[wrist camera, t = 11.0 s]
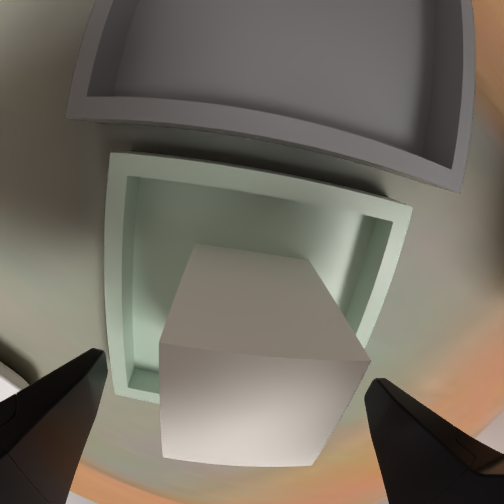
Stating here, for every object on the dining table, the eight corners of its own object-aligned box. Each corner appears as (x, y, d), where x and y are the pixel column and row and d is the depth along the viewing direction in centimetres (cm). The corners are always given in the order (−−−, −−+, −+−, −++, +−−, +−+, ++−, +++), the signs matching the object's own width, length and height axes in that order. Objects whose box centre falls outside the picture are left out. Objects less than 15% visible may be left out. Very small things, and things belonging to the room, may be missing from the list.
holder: (389, 197, 13) (413, 207, 11) (322, 391, 17) (331, 416, 15) (129, 151, 12) (110, 152, 10) (125, 368, 16) (114, 393, 13)
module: (309, 259, 13) (370, 360, 7) (284, 350, 15) (311, 465, 8) (195, 243, 13) (158, 342, 6) (186, 338, 14) (162, 457, 8)
